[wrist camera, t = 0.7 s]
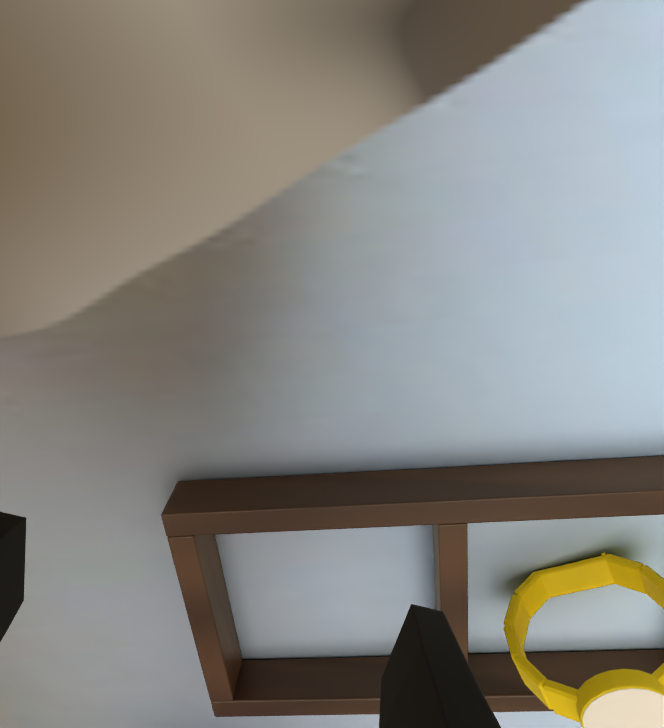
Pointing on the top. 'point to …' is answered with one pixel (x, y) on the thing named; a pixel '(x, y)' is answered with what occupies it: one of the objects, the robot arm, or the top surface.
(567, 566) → the watch
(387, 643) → the top surface
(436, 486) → the holder
